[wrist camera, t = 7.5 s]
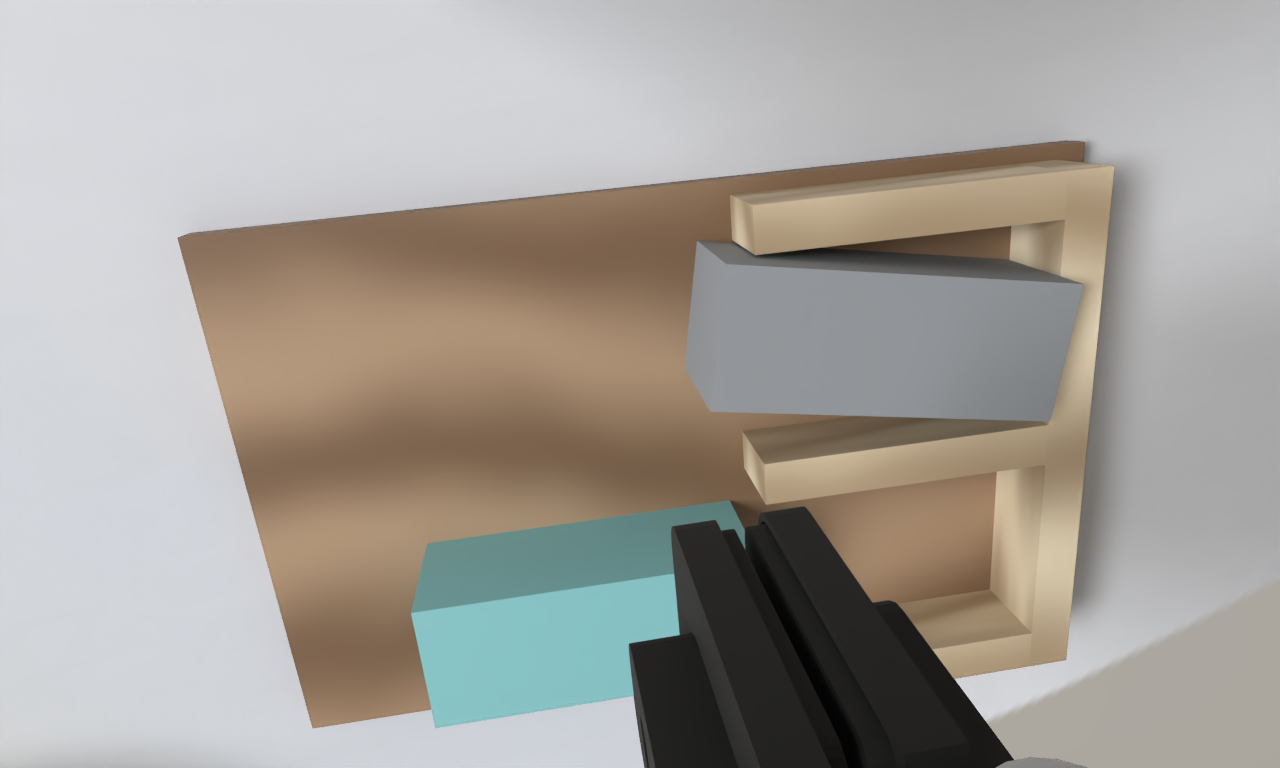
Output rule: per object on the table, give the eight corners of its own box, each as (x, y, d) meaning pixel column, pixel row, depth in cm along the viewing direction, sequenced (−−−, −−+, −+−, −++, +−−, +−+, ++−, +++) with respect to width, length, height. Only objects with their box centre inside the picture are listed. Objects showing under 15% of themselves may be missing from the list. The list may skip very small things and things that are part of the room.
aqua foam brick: (426, 543, 24) (410, 613, 21) (729, 500, 25) (760, 560, 21) (447, 646, 25) (435, 727, 22) (735, 602, 26) (765, 674, 23)
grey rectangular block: (696, 240, 22) (726, 264, 19) (1006, 258, 23) (1084, 284, 20) (684, 368, 23) (710, 411, 20) (980, 379, 25) (1050, 421, 21)
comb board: (189, 233, 21) (133, 254, 18) (1066, 140, 23) (1146, 145, 20) (319, 710, 26) (291, 789, 23) (1030, 597, 28) (1090, 655, 25)
